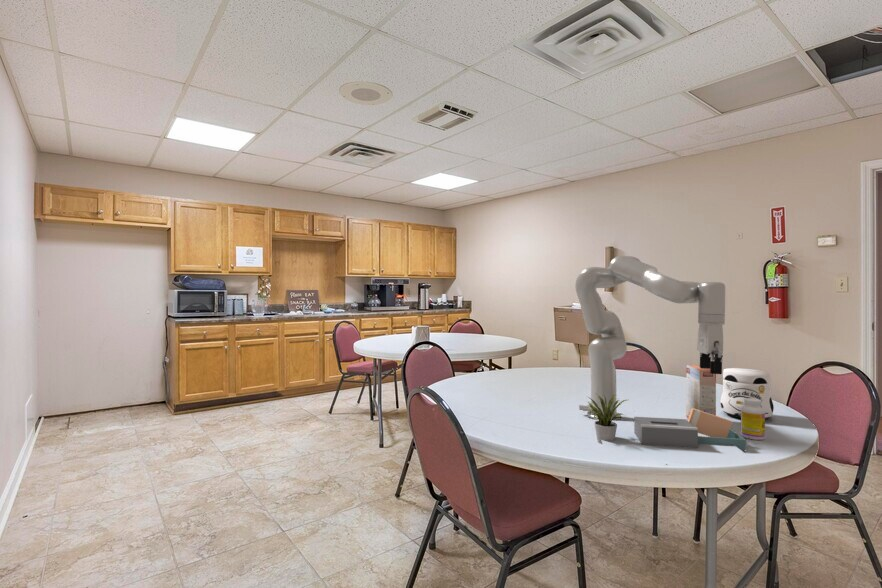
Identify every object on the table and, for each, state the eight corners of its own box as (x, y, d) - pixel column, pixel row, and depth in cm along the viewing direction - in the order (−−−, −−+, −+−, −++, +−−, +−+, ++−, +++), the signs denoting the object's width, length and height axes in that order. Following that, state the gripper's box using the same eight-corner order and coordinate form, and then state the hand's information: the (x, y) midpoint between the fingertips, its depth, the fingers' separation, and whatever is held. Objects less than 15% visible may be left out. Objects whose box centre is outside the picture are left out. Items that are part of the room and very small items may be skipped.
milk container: (737, 422, 166) (737, 375, 166) (711, 410, 184) (711, 367, 184) (784, 423, 166) (784, 375, 166) (754, 410, 183) (754, 367, 183)
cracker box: (717, 428, 160) (716, 370, 160) (699, 427, 161) (698, 370, 161) (702, 417, 174) (702, 364, 174) (685, 416, 175) (685, 364, 175)
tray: (696, 447, 140) (696, 436, 140) (682, 433, 154) (682, 423, 154) (746, 450, 137) (745, 439, 137) (727, 436, 150) (727, 426, 150)
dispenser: (641, 449, 139) (641, 425, 139) (634, 437, 151) (634, 414, 151) (698, 452, 135) (697, 428, 135) (685, 440, 147) (685, 417, 147)
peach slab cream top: (725, 442, 143) (686, 429, 146) (723, 440, 145) (685, 427, 148) (732, 421, 143) (693, 409, 146) (730, 420, 145) (691, 407, 147)
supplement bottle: (766, 441, 145) (765, 402, 145) (741, 438, 148) (741, 400, 148) (764, 436, 151) (763, 398, 151) (740, 433, 154) (740, 396, 154)
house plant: (628, 436, 151) (628, 389, 151) (636, 450, 138) (636, 398, 138) (585, 434, 154) (584, 387, 154) (589, 447, 141) (588, 396, 141)
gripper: (690, 317, 155) (689, 365, 155) (708, 321, 138) (707, 375, 138) (714, 317, 153) (713, 366, 153) (735, 321, 136) (734, 376, 136)
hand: (710, 370), depth 146 cm, fingers open, 9 cm apart
